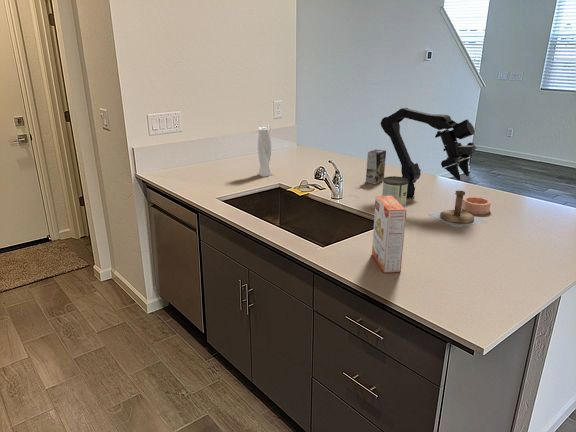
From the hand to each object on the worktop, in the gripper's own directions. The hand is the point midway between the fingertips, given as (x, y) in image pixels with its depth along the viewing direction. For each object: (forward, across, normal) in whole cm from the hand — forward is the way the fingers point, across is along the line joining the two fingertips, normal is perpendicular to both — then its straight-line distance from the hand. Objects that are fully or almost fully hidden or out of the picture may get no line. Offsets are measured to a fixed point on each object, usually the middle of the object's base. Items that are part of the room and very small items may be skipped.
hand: (463, 177), depth 191 cm
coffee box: (-12, +13, +50) cm, 53 cm away
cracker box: (+14, -69, +4) cm, 71 cm away
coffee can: (+3, -23, +24) cm, 33 cm away
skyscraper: (-36, -17, +96) cm, 104 cm away
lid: (+14, -14, +3) cm, 20 cm away
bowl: (+15, +2, +1) cm, 15 cm away
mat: (+14, -14, +3) cm, 20 cm away
